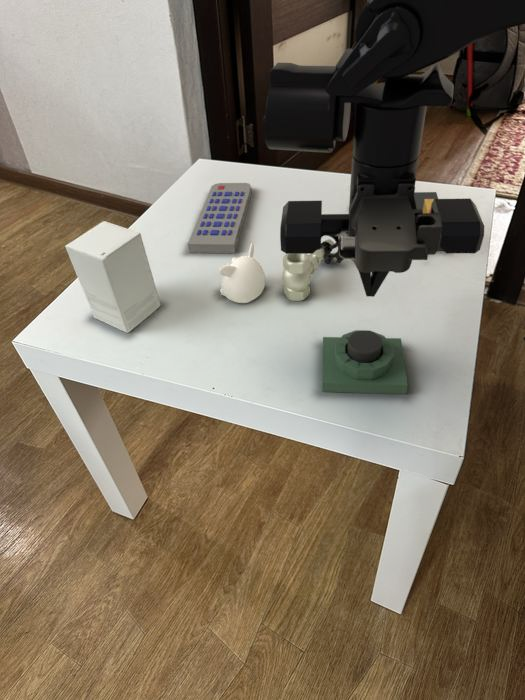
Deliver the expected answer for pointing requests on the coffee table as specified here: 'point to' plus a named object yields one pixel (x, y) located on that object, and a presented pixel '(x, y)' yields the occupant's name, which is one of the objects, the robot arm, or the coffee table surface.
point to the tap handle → (427, 205)
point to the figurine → (242, 278)
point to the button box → (363, 368)
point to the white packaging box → (115, 275)
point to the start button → (364, 346)
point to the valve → (306, 268)
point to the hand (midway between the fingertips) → (370, 294)
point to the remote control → (221, 219)
